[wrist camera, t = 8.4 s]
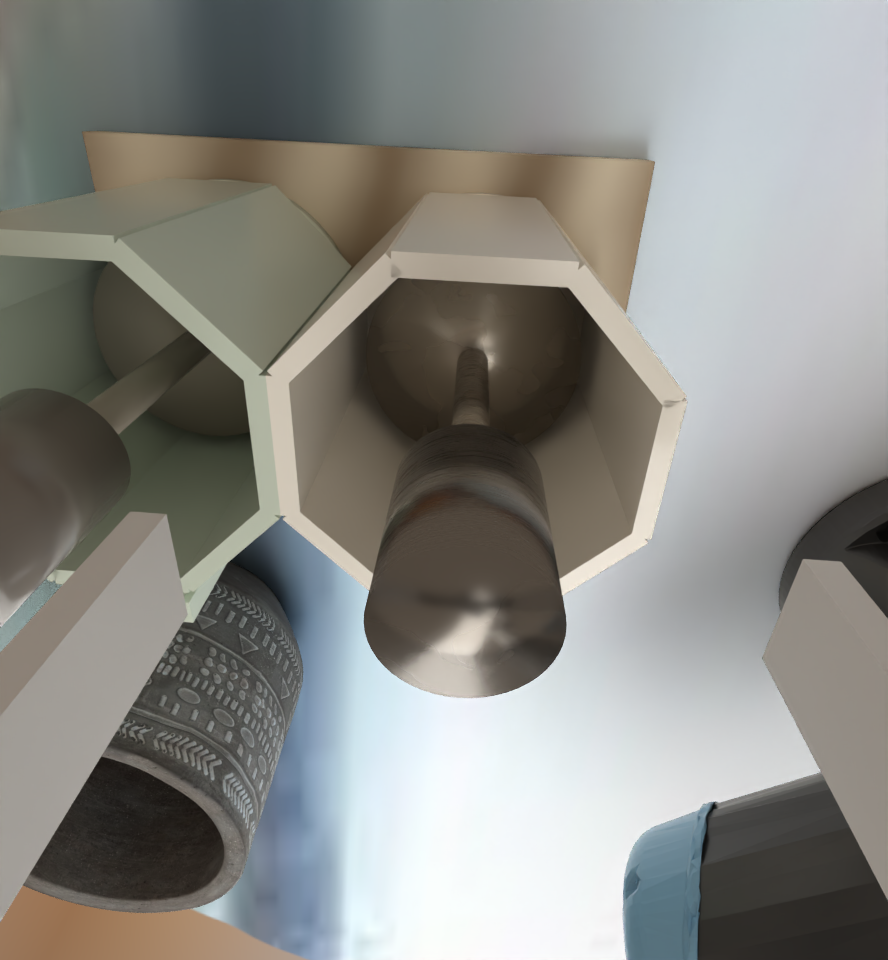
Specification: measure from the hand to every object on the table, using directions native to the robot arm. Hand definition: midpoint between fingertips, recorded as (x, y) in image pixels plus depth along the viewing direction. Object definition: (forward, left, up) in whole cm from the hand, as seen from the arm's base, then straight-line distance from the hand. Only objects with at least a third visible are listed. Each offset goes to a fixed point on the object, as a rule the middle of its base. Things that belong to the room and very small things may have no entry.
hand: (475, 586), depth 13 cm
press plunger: (0, 0, -14) cm, 14 cm away
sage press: (+11, +1, -19) cm, 22 cm away
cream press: (0, +1, -19) cm, 19 cm away
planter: (+16, +21, -20) cm, 33 cm away
